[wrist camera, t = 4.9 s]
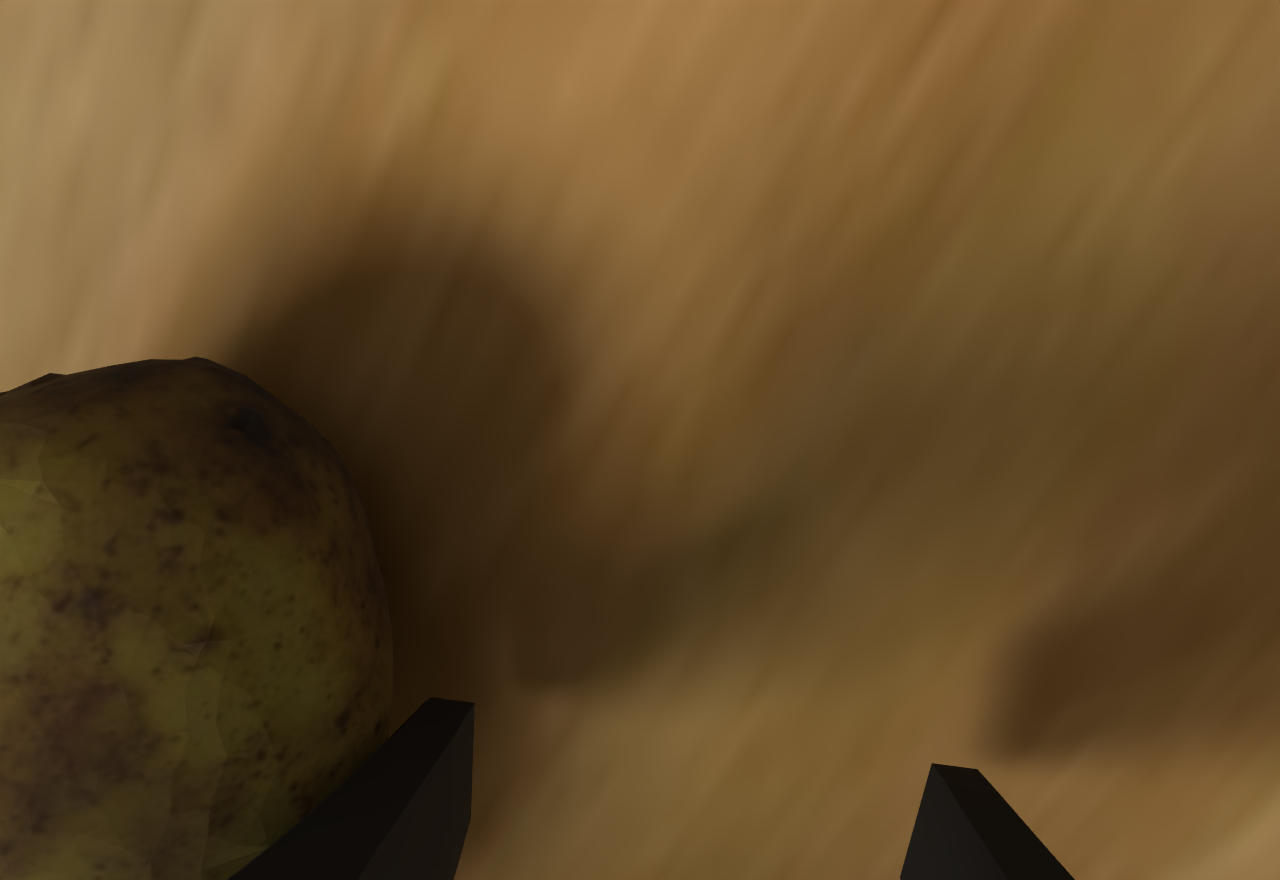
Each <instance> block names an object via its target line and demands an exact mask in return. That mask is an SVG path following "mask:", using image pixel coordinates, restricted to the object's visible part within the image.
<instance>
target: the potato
mask: <svg viewBox="0 0 1280 880" xmlns="http://www.w3.org/2000/svg"><path fill="white" fill-rule="evenodd" d="M393 667H394V660H393V638H392V626H391V620H390V614H389V608H388V603H387V597H386V591H385V586H384V582H383V578H382V575H381V571H380V568H379V564H378V560H377V557H376V553H375V549H374V545H373V541H372V537H371V532H370V528H369V524H368V520H367V515H366V512H365V510H364V507H363V505H362V502H361V499H360V497H359V494H358V491H357V489H356V486H355V484H354V481H353V478H352V476H351V473H350V471H349V469H348V468H347V466H346V465H345V463H344V461H343V460H342V458H341V456H340V455H339V454H338V452H337V451H336V450H335V449H334V447H333V446H332V445H331V443H330V442H329V441H328V440H327V439H326V438H325V437H324V436H323V435H321V434H320V433H319V432H318V431H317V430H316V429H315V428H314V427H313V426H312V425H310V424H309V423H308V422H307V421H306V420H305V419H304V418H303V417H301V416H300V415H299V414H297V413H296V412H294V411H293V410H292V409H290V408H289V407H288V406H286V405H285V404H283V403H282V402H281V401H279V400H278V399H277V398H275V397H274V396H273V395H271V394H270V393H269V392H267V391H266V390H265V389H263V388H262V387H261V386H259V385H258V384H256V383H255V382H254V381H252V380H251V379H249V378H248V377H247V376H245V375H243V374H241V373H238V372H236V371H234V370H232V369H229V368H227V367H225V366H222V365H220V364H218V363H215V362H213V361H211V360H208V359H204V358H199V357H193V358H189V359H184V360H160V359H149V360H143V361H137V362H131V363H125V364H118V365H112V366H107V367H102V368H98V369H93V370H88V371H83V372H78V373H74V374H69V375H62V374H53V373H49V374H47V375H44V376H42V377H40V378H38V379H35V380H33V381H31V382H28V383H26V384H24V385H22V386H19V387H17V388H15V389H13V390H10V391H7V392H1V393H0V880H227V879H228V878H230V877H231V876H232V875H234V874H235V873H236V872H238V871H239V870H240V869H241V868H243V867H244V866H245V865H247V864H248V863H249V862H250V861H252V860H253V859H254V858H256V857H257V856H258V855H259V854H261V853H262V852H263V851H264V850H266V849H267V848H268V847H269V846H270V845H271V844H273V843H274V842H275V841H276V840H277V839H279V838H280V837H281V836H282V835H283V834H285V833H286V832H287V831H288V830H289V829H291V828H292V827H293V826H294V825H295V824H297V823H298V822H299V821H300V820H301V819H302V818H304V817H305V816H306V815H307V814H308V813H310V812H311V811H312V810H313V809H314V808H315V807H317V806H318V805H319V804H320V803H321V802H322V801H323V800H324V799H325V798H327V797H328V796H329V795H330V794H331V793H332V792H333V791H334V790H335V789H336V788H337V787H338V786H340V785H341V784H342V783H343V782H344V781H345V780H346V779H347V778H348V777H349V776H350V775H351V774H353V773H354V772H355V771H356V770H357V769H358V768H359V767H360V766H361V765H362V764H363V763H364V762H365V761H366V760H367V759H368V758H369V757H371V756H372V755H373V754H374V753H375V752H376V751H377V750H378V749H379V748H380V747H381V746H382V745H383V744H384V743H385V742H386V741H387V737H388V730H389V723H390V718H391V712H392V698H393Z"/></svg>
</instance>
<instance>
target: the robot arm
mask: <svg viewBox="0 0 1280 880" xmlns="http://www.w3.org/2000/svg"><path fill="white" fill-rule="evenodd" d="M474 707H475V703H470V702H463V701H455V700H447V699H440V698H430V699H429V700H427V701H426V702H424V703H423V704H422V705H421V706H420V707H419V708H418V709H417V710H416V711H415V712H414V713H413V714H412V716H411V717H410V718H409V719H408V720H407V721H406V722H405V723H404V724H403V725H402V726H401V727H400V728H399V729H398V730H397V731H396V732H395V733H394V734H393V735H392V736H391V737H390V738H389V739H388V740H387V741H386V742H385V743H384V744H383V745H382V746H381V747H380V748H379V749H378V750H377V751H376V752H375V753H374V754H373V755H372V756H371V757H369V758H368V759H367V760H366V761H365V762H364V763H363V764H362V765H361V766H360V767H359V768H358V769H357V770H356V771H355V772H354V773H353V774H351V775H350V776H349V777H348V778H347V779H346V780H345V781H344V782H343V783H342V784H341V785H340V786H338V787H337V788H336V789H335V790H334V791H333V792H332V793H331V794H330V795H329V796H328V797H327V798H325V799H324V800H323V801H322V802H321V803H320V804H319V805H318V806H317V807H315V808H314V809H313V810H312V811H311V812H310V813H308V814H307V815H306V816H305V817H304V818H302V819H301V820H300V821H299V822H298V823H297V824H295V825H294V826H293V827H292V828H291V829H289V830H288V831H287V832H286V833H285V834H283V835H282V836H281V837H280V838H279V839H277V840H276V841H275V842H274V843H273V844H271V845H270V846H269V847H268V848H267V849H266V850H264V851H263V852H262V853H261V854H259V855H258V856H257V857H256V858H254V859H253V860H252V861H250V862H249V863H248V864H247V865H245V866H244V867H243V868H241V869H240V870H239V871H238V872H236V873H235V874H234V875H232V876H231V877H230V878H228V879H227V880H453V879H454V876H455V872H456V869H457V866H458V862H459V859H460V855H461V851H462V848H463V844H464V840H465V837H466V833H467V830H468V826H469V822H470V819H471V794H472V765H473V736H474ZM900 879H901V880H1075V879H1074V878H1073V877H1072V876H1071V875H1070V874H1069V873H1068V872H1067V870H1066V869H1065V868H1064V867H1063V866H1062V865H1061V864H1060V863H1059V861H1058V860H1057V859H1056V858H1055V857H1054V856H1053V855H1052V854H1051V852H1050V851H1049V850H1048V849H1047V848H1046V847H1045V846H1044V844H1043V843H1042V842H1041V841H1040V840H1039V839H1038V838H1037V836H1036V835H1035V834H1034V833H1033V832H1032V831H1031V830H1030V828H1029V827H1028V826H1027V825H1026V824H1025V823H1024V822H1023V820H1022V819H1021V818H1020V817H1019V816H1018V815H1017V814H1016V812H1015V811H1014V810H1013V809H1012V808H1011V807H1010V805H1009V804H1008V803H1007V802H1006V801H1005V800H1004V799H1003V797H1002V796H1001V795H1000V794H999V793H998V792H997V791H996V789H995V788H994V787H993V786H992V785H991V784H990V783H989V782H988V780H987V779H986V778H985V777H984V776H983V775H982V774H981V773H980V772H979V771H978V770H977V769H971V768H964V767H956V766H949V765H941V764H933V763H932V764H931V768H930V772H929V775H928V779H927V782H926V786H925V789H924V793H923V797H922V800H921V804H920V807H919V811H918V815H917V818H916V822H915V825H914V829H913V832H912V836H911V840H910V843H909V847H908V850H907V854H906V858H905V861H904V865H903V868H902V872H901V875H900Z"/></svg>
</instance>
